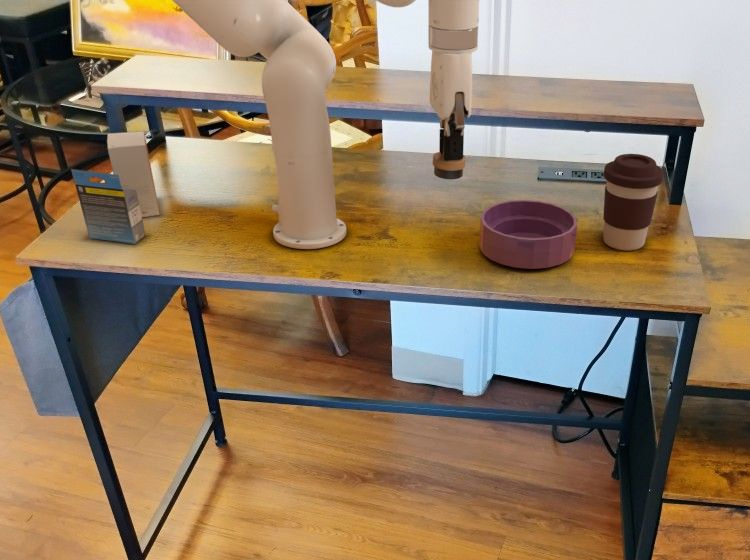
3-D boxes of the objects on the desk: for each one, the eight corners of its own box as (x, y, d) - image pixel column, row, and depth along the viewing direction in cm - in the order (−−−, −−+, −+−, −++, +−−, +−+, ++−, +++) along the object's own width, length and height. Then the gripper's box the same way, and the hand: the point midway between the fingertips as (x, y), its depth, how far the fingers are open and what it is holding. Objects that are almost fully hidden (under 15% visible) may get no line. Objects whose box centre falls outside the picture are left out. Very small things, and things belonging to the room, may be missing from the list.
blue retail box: (147, 235, 144) (132, 166, 137) (135, 245, 141) (119, 175, 133) (100, 229, 145) (84, 160, 138) (87, 238, 142) (69, 168, 135)
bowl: (460, 251, 143) (460, 218, 139) (519, 223, 153) (522, 192, 149) (534, 282, 134) (536, 248, 131) (592, 251, 144) (596, 219, 141)
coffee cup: (614, 226, 153) (625, 145, 145) (662, 242, 148) (676, 159, 140) (584, 243, 147) (594, 160, 138) (633, 260, 142) (646, 175, 133)
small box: (160, 215, 151) (146, 144, 143) (122, 219, 149) (106, 148, 141) (158, 199, 157) (144, 130, 149) (122, 202, 155) (106, 133, 147)
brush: (425, 172, 138) (428, 105, 132) (448, 166, 142) (452, 100, 136) (448, 182, 136) (452, 114, 129) (471, 175, 139) (476, 109, 133)
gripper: (418, 26, 132) (419, 141, 143) (440, 51, 119) (439, 175, 130) (464, 25, 134) (462, 139, 144) (490, 50, 121) (485, 172, 132)
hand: (451, 155), depth 137 cm, fingers closed on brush
